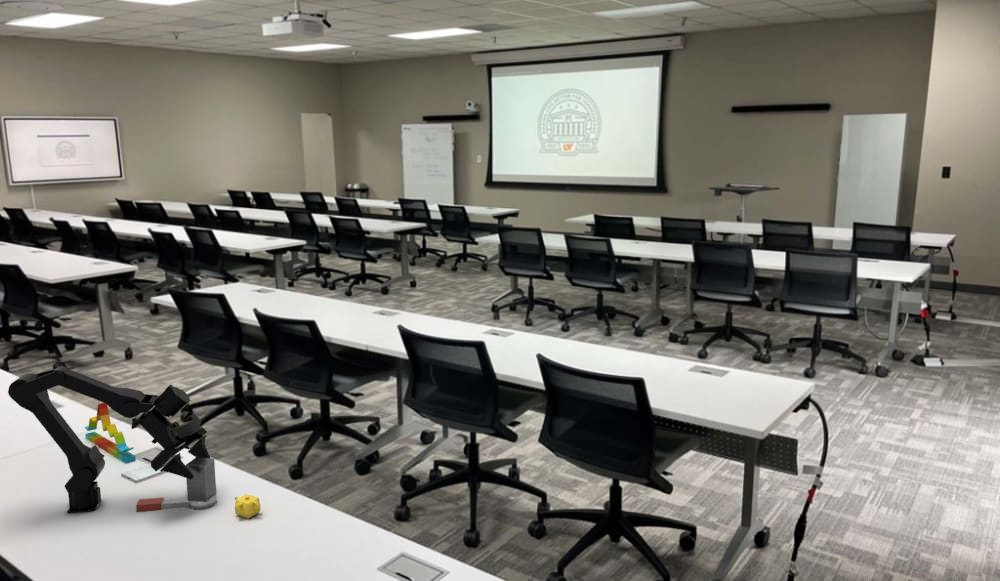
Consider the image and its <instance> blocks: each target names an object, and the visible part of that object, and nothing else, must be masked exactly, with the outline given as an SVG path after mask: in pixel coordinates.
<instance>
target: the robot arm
mask: <svg viewBox="0 0 1000 581" xmlns="http://www.w3.org/2000/svg"><path fill="white" fill-rule="evenodd" d="M57 386H60V387H63V388H65V389H68V390H70V391H72V392H75V393H78V394H80V395H83V396H85V397H88V398H91V399H93V400H96V401H99V402H101V403H105V404H107V406H108V408H110V409H111V410H112V411H114V412H115V413H116V414H119V416H122V417H124V418H127V419H131V421H132V422H131V429H132V430H134V429H137V428H139V427H140V426H141V427H142V428H143V430H145V431H146V432H147V433H148V434H149V436H151V437H152V438H153V439H152V441H151V443H152V444H153V445H156V444H158V445H159V446H161V448H163V449H162V450H161V451H160V452H158V453H157V455H156V456H155V457H154V458H153V459H152V460H151V461H150V464H151V467H152V468H153V469H154V470H155V471H158V470H159V469H161V468H162V467H163V468H162V469H161V470H160V471H161V472H162V471H165V472H167V473H169V474H173V475H176V476H179V477H183V478H185V479H186V478H188V479H192V478H193V477H194V476H193V474H192V473H191V472H190V470H189V469H188V468H187V467H186V464H185V463H184V462H183V461H182V457H181V451H182V450H188V451H187V453H188V454H190V455H192V456H194V457H195V458H196V457H199V458H211V456H210V454H209V452H208V449H207V446H206V438H207V433H208V431H207V430H206V429H205V428H204V427H202V426H201V423H202V420H201V418H199V417H198V416H197V415H196V414H192V415H189V416H188V417H186V421H185V422H182V423H181V424H180V423H179V422H178V421H173V422H172V421H171V420H169V419H168V418H170V417H175V416H176V415H178V413H179V412H180V411H181V410H182V409H184V408H185V407H186V406H187V405H188V404H189V403H190V402H191V398H190V396H189V395H188V394H187V392H185V391H184V389H181V388H178V387H176V386H173V385H172V384H169V385H168V386H167V387H166V388H165V389H164V390H163V391H162V392H161V393H160V394H159V395H158V394H149V393H148V394H147V393H144V392H143V391H141V390H138V389H134V388H133V389H132V388H129V387H117V386H114V385H110V384H108V383H106V382H102V381H101V380H97V379H95V378H92V377H90V376H87V375H86V374H82V373H80V372H77V371H75V370H73V369H70V368H69V367H66V366H63V365H62V366H58V367H57V368H54V369H50V370H49V369H48V370H45V371H41V372H39V373H33V372H29V373H27V372H26V373H24V374H23V375H21V376H20V377H18V378H17V379H15V380H13V382H11V383H10V385H9V386H8V390H7V395H8V396H9V397H10V398H11V400H12V401H14V402H15V403H16V404H17V405H18V406H20V407H21V408H23V409H25V410H27V411H29V412H31V413H32V414H33V415H34V417H35V418H36V419H37V420H38V422H39V423H40V425H41V426H42V427H43V428H44V429H45V430H46V432H47V433H48V434H49V436H50V437H51V439H52V440H53V441H54V443H56V445H57V446H58V447H59V448H60V450H61V451H62V452H63V453H64V456H66V459H67V463H68V467H69V471H70V472H71V474H72V476H71V477H69V479H68V480H67V482H66V483H65V484H64V488H65V490H66V492H67V496H68V505H69V508H68V509H67V511H66V512H67V513H68V514H71V513H83V512H84V513H85V512H93V511H95V510H96V509H97V507H99V505H100V503H101V502H102V494H101V486H99V485H98V484H99V483H98V481H97V479H98V477H99V476H100V474H101V473H102V472H103V470H104V469H105V465H106V460H105V459H104V458H105V455H104V454H102V453H101V451H100V449H99V447H98V446H97V445H95V444H94V445H93V446H92V447H90V446H88V445H86V444H84V443H83V442H82V440H81V439H80V438H79V436H78V435H77V434H76V433H75V431H74V430H73V429H72V427H71V426H70V425H69V424H68V422H67V420H66V419H65V418H64V417H63V416H62V414H61V413H60V412H59V411H58V409H57V408H56V407H55V406H54V404H53V403H52V401H51V399H50V395H49V391H48V390H50V389H52V388H55V387H57Z"/></svg>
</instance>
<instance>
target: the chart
mask: <svg viewBox="0 0 1000 581" xmlns="http://www.w3.org/2000/svg"><path fill="white" fill-rule="evenodd" d="M96 411H97V412H96V416H92V417H89V421H88V426H84V429H85V430H86V431H87V433H85V435H84V436H85V440H87V441H89V442H90V443H92V444H94V445H96V446H97V448H100V449H101V450H103V451H105V452H106V453H108V454H109V455H111V456H113V457H114V458H116V459H118V460H119V461H121V462H123V464H129V463H133V462H136V461H137V458H136V457H137V456H136V455H135V454H133V453H132V452H130V451H132V450H134V448H135V447H129V446H127V442H126V439H125V437H124V436H125V435H124V433H123V431H119V430H118V428H117V426H116V423H113V424H112V423H111V422H112V421H111V418H110V412H109V411H110V410H109V406H108V405H107V404H105V403H103V402H101V403H98V404H97V409H96ZM99 421H100V422H101V427H102V431H103V432H108V434H109V437H110V438H114V441H115V442H113V441H111V440H109V439H108V438H106V437H104V436H103V435H102V434H99V433H98V432H96V431H95V430H97V428H98V423H99ZM90 431H92V432H90Z"/></svg>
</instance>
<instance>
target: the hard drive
mask: <svg viewBox="0 0 1000 581" xmlns="http://www.w3.org/2000/svg"><path fill="white" fill-rule="evenodd" d="M162 468H163V467H162ZM162 468H161V469H162ZM161 469H159V470H158V471H155V470H154V469H153V468H152V467H151V463H148V464H146V465H143V466H139V467H137V468H133V469H131V470H127V471H124V472H121V474H120V477H121V478H124V479H126V480H128V481H130V482H133V483H134V484H140V483H142V482H144V481H148V480H150V479H153V478H156V477H159V476H161V475H164V474H167V473H168V472H165V471H162V472H161V471H160V470H161Z"/></svg>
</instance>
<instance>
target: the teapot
mask: <svg viewBox="0 0 1000 581" xmlns="http://www.w3.org/2000/svg"><path fill="white" fill-rule="evenodd" d="M234 501H235V502H234V512H235V514H236V515H238V517H244V518H245V519H247V520H249V519H251V518H252V517H253V516H256V515H258V514H259V513H260V512H261V503H260V497H258V496H255V495H252V494H248V493H247V494H245V495H242V496H241V497H238V496H236V497H234Z"/></svg>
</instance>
